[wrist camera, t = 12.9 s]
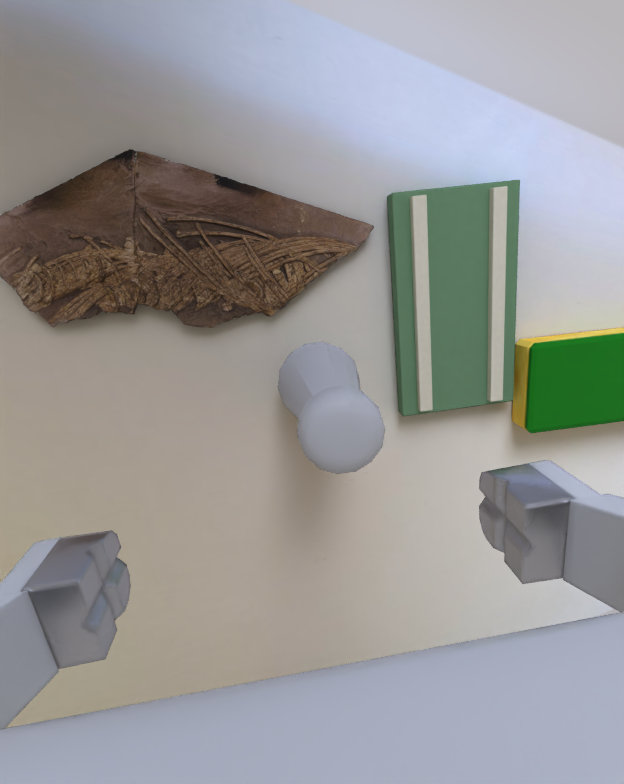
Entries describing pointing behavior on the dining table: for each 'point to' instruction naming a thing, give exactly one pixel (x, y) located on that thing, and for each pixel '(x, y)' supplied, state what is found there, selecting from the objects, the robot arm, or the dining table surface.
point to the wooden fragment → (166, 244)
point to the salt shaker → (330, 408)
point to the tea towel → (454, 294)
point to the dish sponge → (569, 380)
